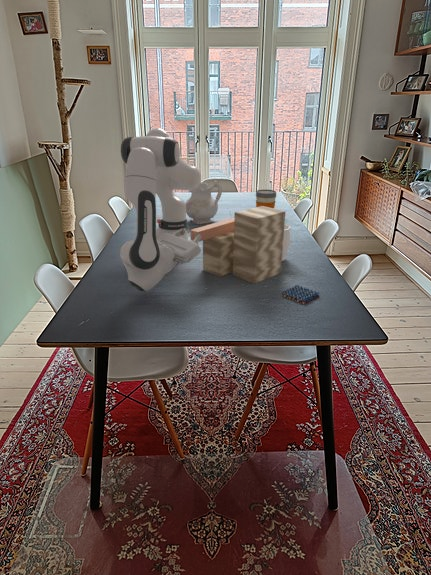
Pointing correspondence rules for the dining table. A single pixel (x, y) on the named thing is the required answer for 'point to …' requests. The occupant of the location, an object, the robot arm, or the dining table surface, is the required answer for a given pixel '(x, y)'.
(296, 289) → the woven mat
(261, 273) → the stand
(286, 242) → the jar
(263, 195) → the reusable coffee cup
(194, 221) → the ceramic pitcher
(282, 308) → the dining table surface
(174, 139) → the robot arm
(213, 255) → the base block
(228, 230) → the rod
